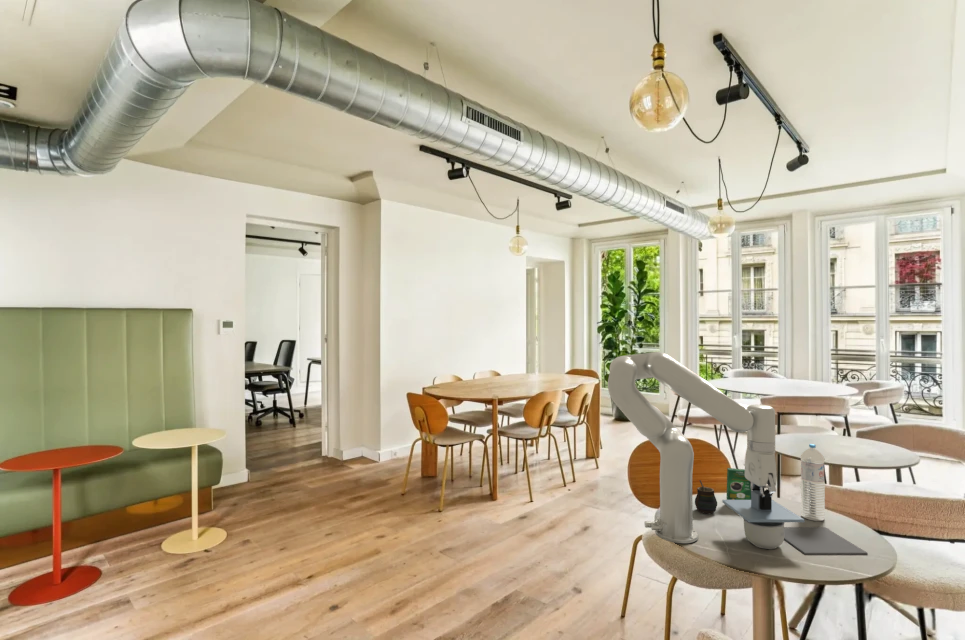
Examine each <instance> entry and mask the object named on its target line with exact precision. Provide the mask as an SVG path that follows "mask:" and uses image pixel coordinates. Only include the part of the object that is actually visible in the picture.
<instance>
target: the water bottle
mask: <svg viewBox="0 0 965 640" xmlns="http://www.w3.org/2000/svg"><path fill="white" fill-rule="evenodd" d="M816 447H817V445H816V444H813V443H809V445H808V449H805V450H804V451H803V452H802V453H801V454H800V464H801V465H800V467H801V468H800V513H801V514H800V515H801V518H803V519H804V520H805V519H806V520H808V521H811V522H812V521H814V522H823V521H824V520H825V517H826V509H825V508H826V503H825V502H826V501H825V500H826V496H825V495H826V493H825V492H826V491H825V490H826V487H825V486H826V485H825V483H826V481H825V462H826V461H825V457H824V456H823V454H822V453H821V452H820V451H819V450H817V449H816Z"/></svg>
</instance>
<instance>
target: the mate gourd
mask: <svg viewBox="0 0 965 640" xmlns="http://www.w3.org/2000/svg"><path fill="white" fill-rule="evenodd" d="M699 483H700V485H701V486H700V487H697V489H696V490H697V491H696V492H697V494H696V496H695V499H694V505H695V508H696V509H697V510H698V512H699V513H701V514H706V515H708V514H709V515H711V514H713V513H715V511H717V507H718V501H717V498H716V496H715V489H714V488H712V487H708V486H704V484H703V482H702V480H701V479H700V480H699Z"/></svg>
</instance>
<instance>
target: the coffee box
mask: <svg viewBox="0 0 965 640" xmlns="http://www.w3.org/2000/svg"><path fill="white" fill-rule="evenodd" d="M750 487H751V484H750V482H749V480H747V479H746V478H745V468H744V469H743V468H742V469H741V468H734V467H731V468H730V467H727V469H726V500H751V488H750Z"/></svg>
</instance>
